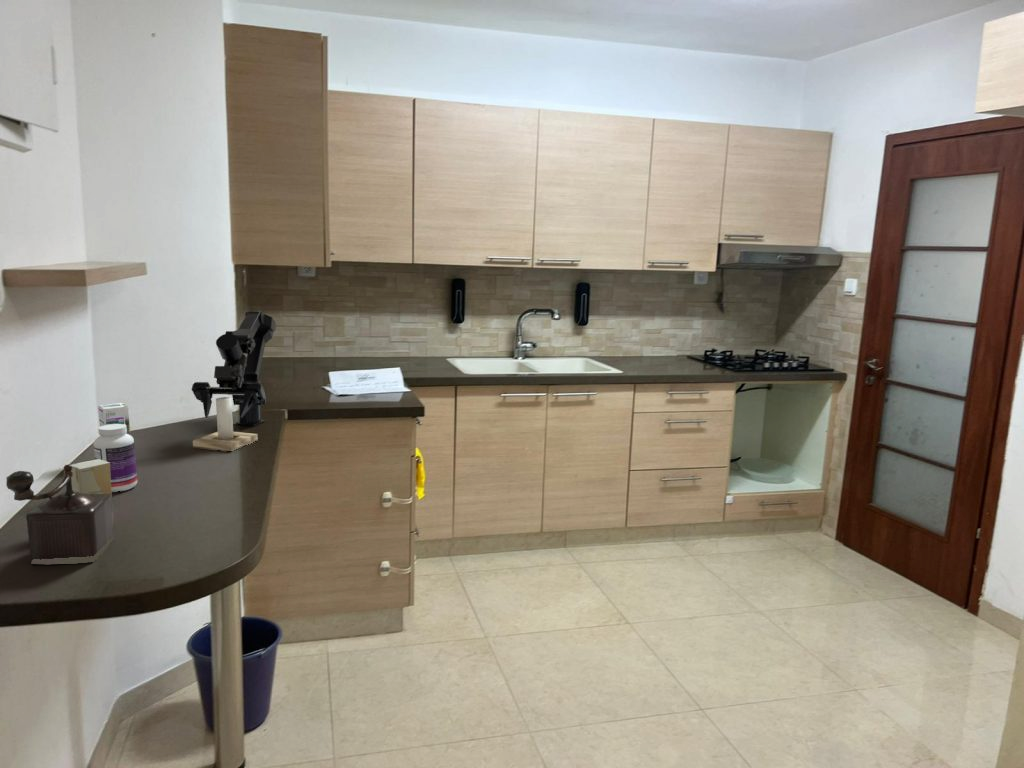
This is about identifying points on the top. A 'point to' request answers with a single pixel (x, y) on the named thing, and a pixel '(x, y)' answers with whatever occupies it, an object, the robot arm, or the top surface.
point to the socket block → (231, 445)
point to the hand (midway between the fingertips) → (223, 417)
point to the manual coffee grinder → (64, 518)
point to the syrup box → (114, 415)
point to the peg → (224, 418)
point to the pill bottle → (117, 455)
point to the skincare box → (92, 477)
